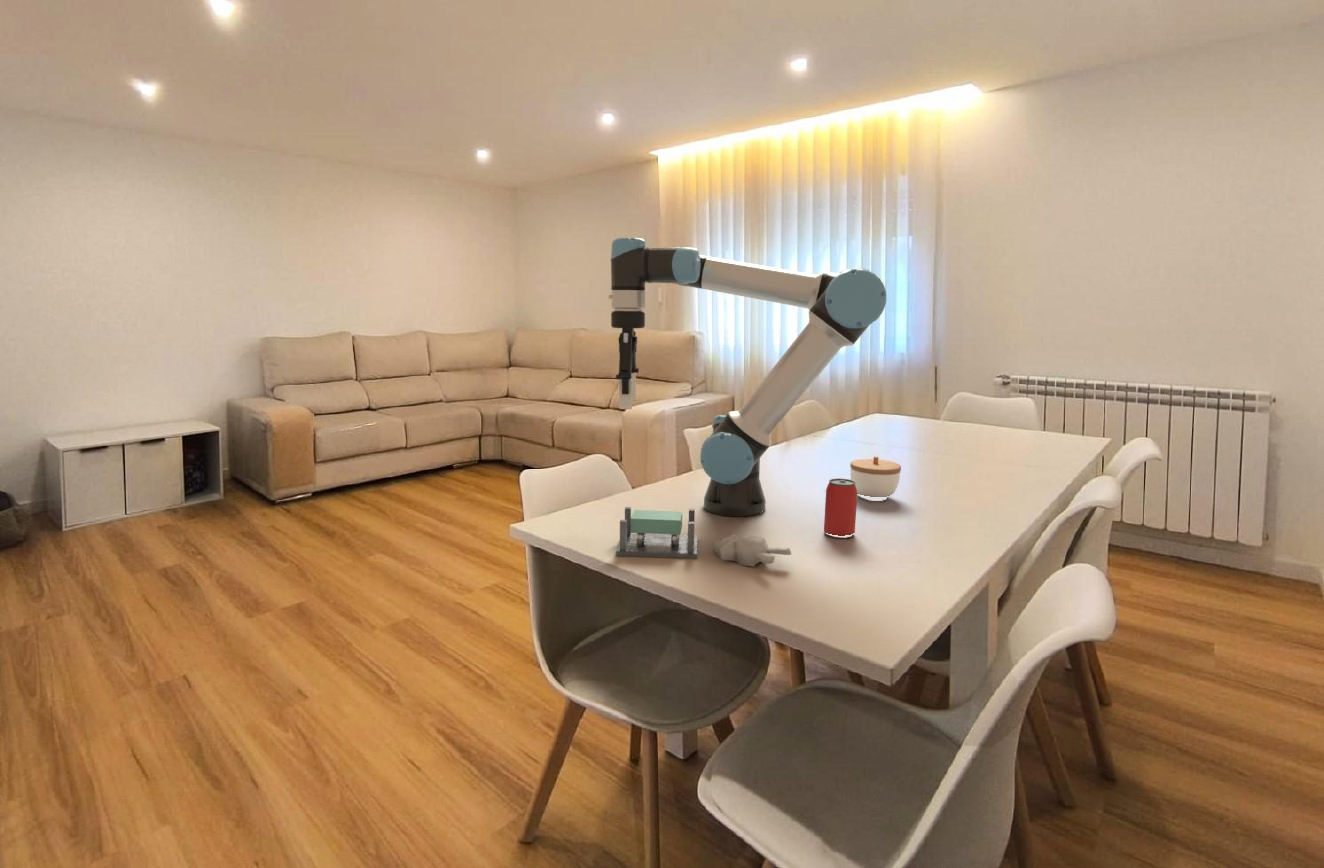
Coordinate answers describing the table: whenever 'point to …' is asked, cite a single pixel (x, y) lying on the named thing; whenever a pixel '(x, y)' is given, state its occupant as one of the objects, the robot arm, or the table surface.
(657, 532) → the green rectangular block
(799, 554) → the table surface
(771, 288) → the robot arm
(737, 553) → the bunny figurine
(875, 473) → the lidded bowl
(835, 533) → the beer can
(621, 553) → the chassis
